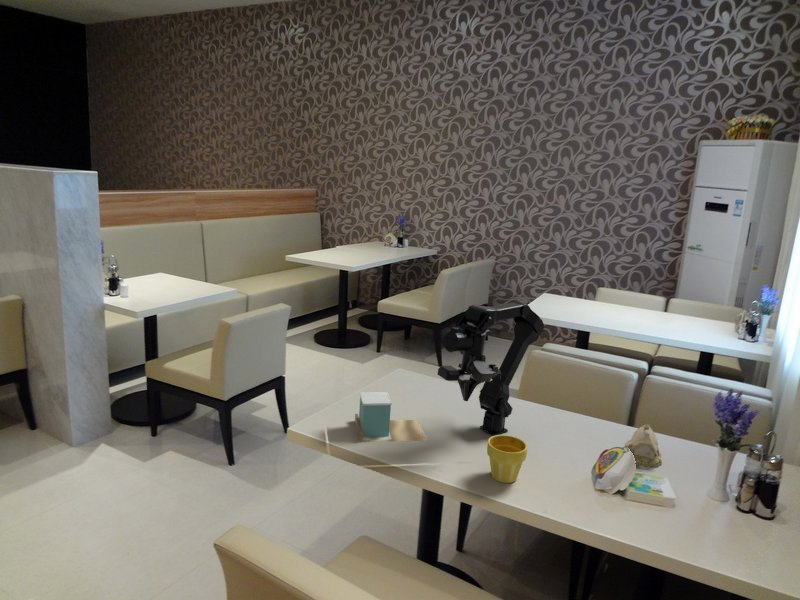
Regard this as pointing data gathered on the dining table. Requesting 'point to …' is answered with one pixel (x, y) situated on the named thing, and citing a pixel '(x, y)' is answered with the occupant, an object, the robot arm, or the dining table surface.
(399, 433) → the plinth board
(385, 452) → the dining table surface
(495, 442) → the plant pot
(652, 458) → the ceramic model
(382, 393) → the tin
